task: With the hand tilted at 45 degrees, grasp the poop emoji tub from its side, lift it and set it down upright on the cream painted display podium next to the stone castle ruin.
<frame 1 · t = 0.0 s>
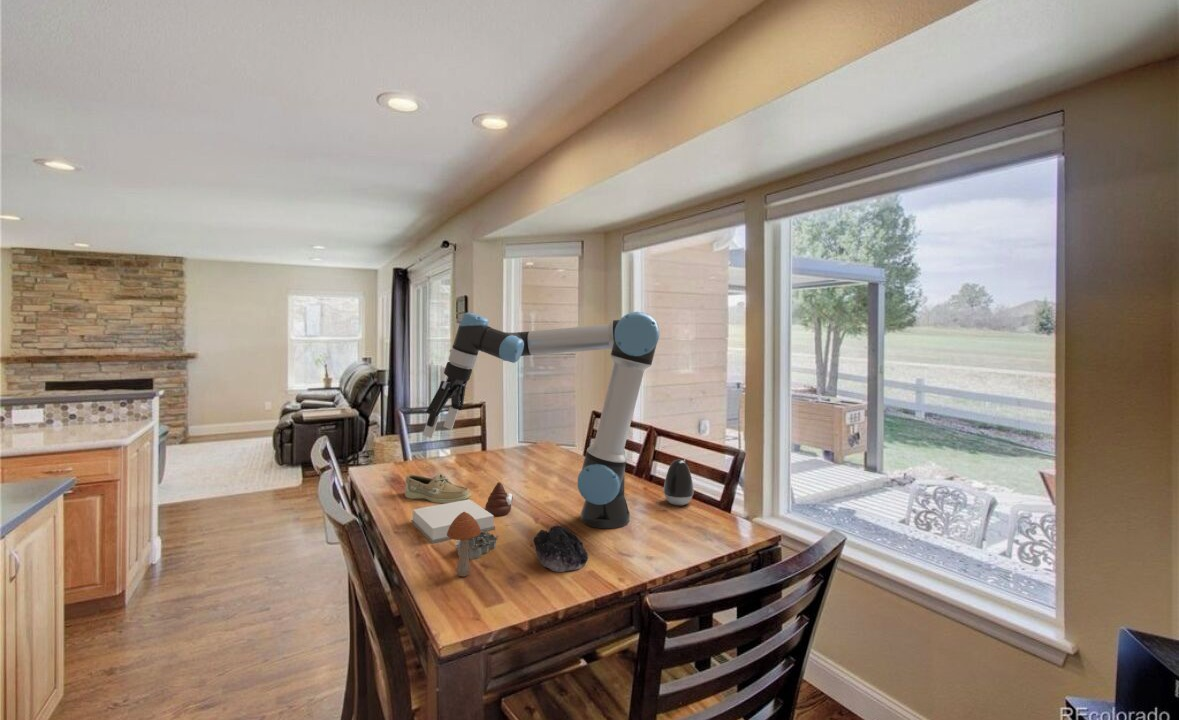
hand: (437, 432, 151), 28 cm above the table, tool tilted 20°, fingers open, 13 cm apart
stone castle ruin: (476, 551, 135), on the table
crystal cluster: (561, 562, 129), on the table
poop emoji: (498, 512, 165), on the table
mushroom: (464, 574, 121), on the table
podium: (452, 525, 152), on the table
black egg shaped device: (678, 503, 176), on the table
boat shoe: (437, 499, 177), on the table
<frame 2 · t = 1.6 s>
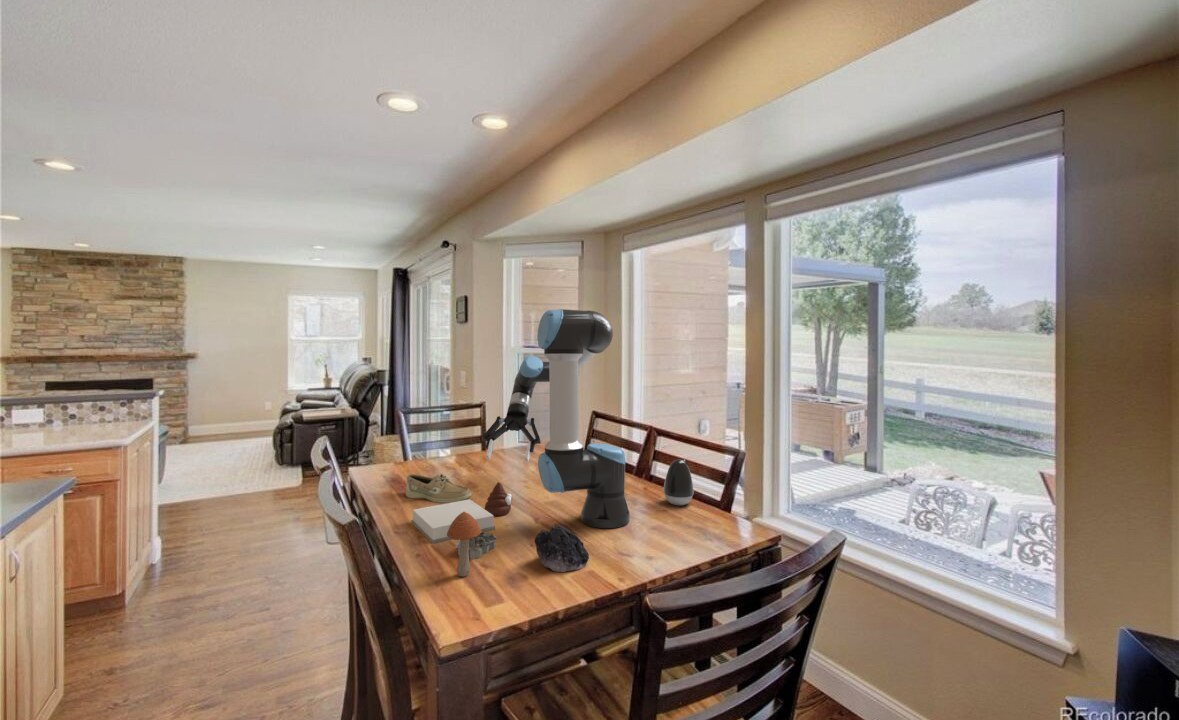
hand: (507, 458, 174), 15 cm above the table, tool tilted 45°, fingers open, 13 cm apart
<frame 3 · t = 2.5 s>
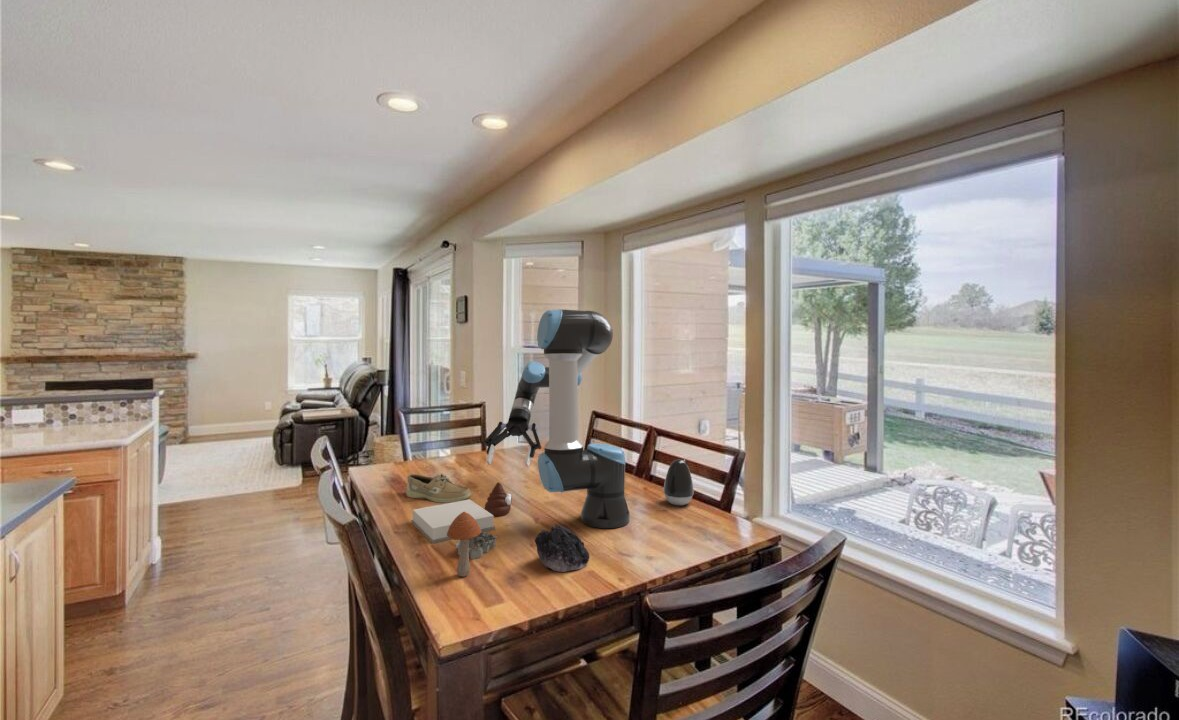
hand: (507, 464, 173), 13 cm above the table, tool tilted 45°, fingers open, 13 cm apart
nothing on the table moved.
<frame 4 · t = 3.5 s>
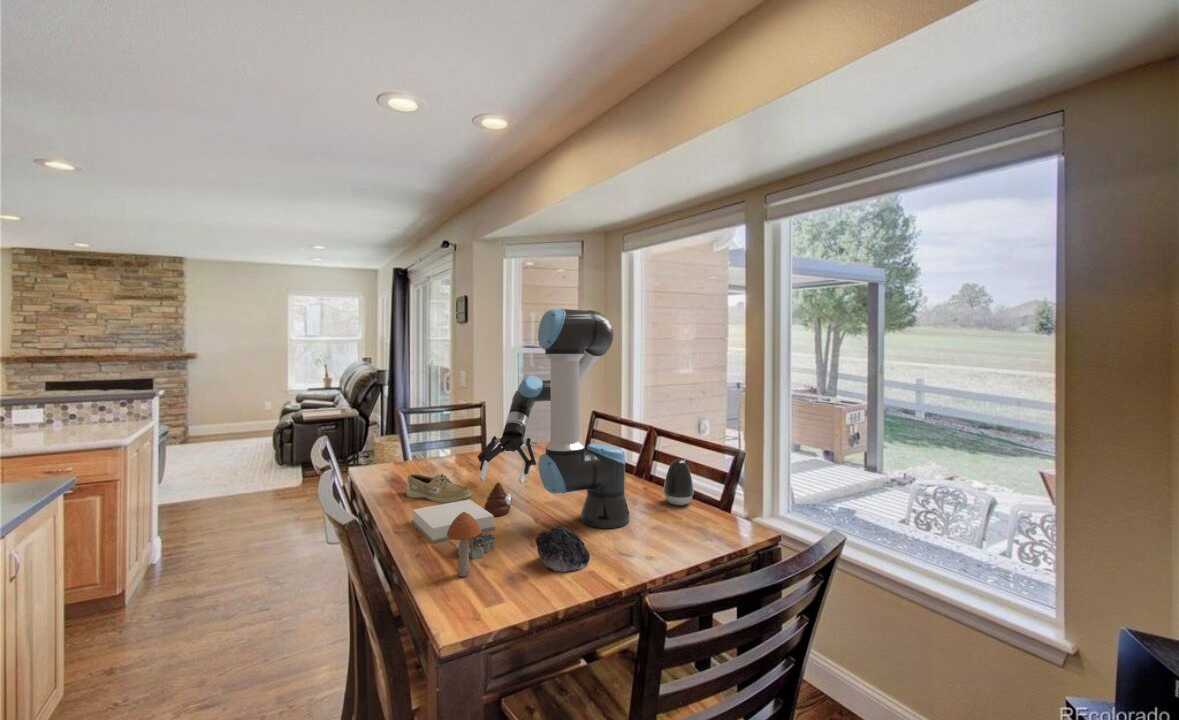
hand: (501, 480, 169), 9 cm above the table, tool tilted 45°, fingers open, 13 cm apart
nothing on the table moved.
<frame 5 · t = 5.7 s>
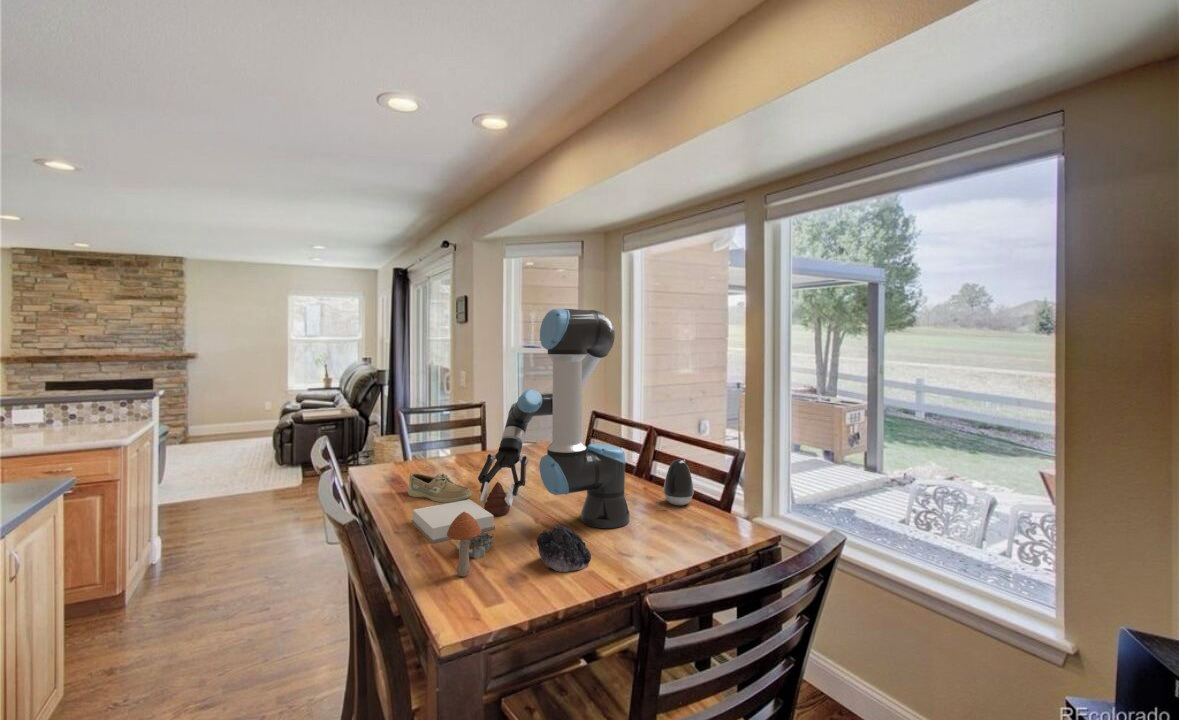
hand: (495, 503, 161), 4 cm above the table, tool tilted 45°, fingers closed on poop emoji, 8 cm apart
poop emoji: (497, 512, 165), on the table, touching gripper
when the fingers open (9 cm above the table, at t = 10.8 s): poop emoji stays where it is, resting on podium.
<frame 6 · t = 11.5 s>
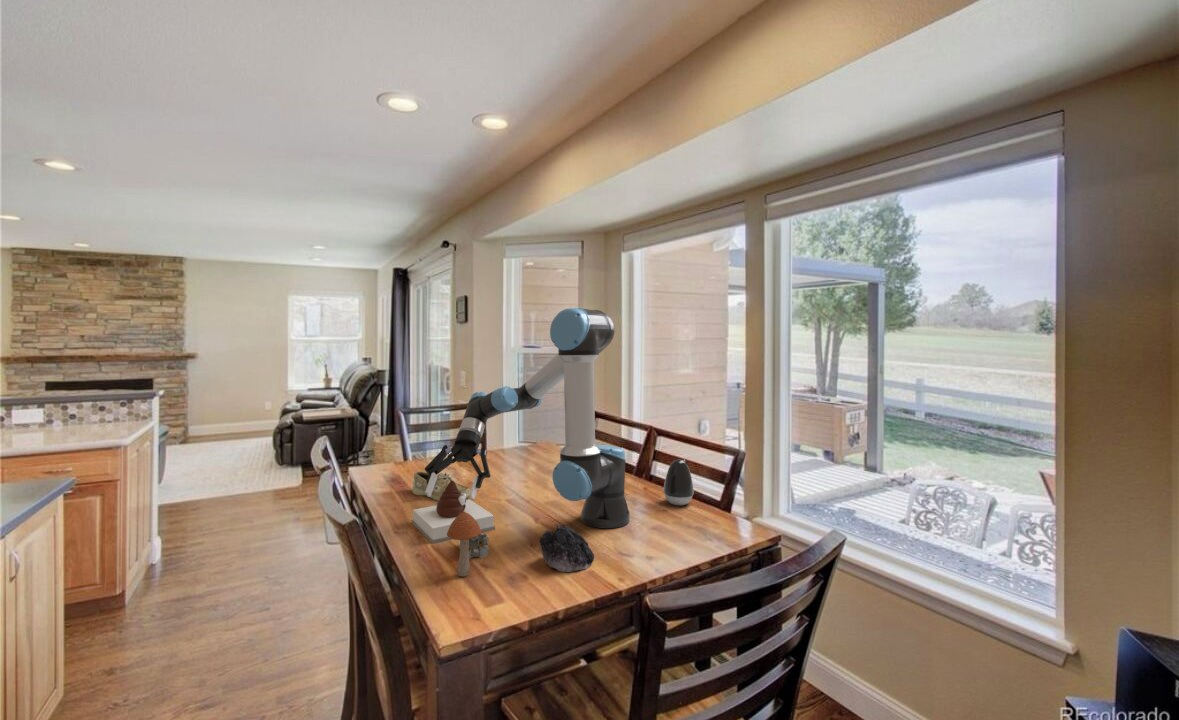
hand: (449, 496, 149), 10 cm above the table, tool tilted 45°, fingers open, 13 cm apart
poop emoji: (451, 513, 152), point 4 cm above the table, touching podium
boat shoe: (440, 497, 180), on the table
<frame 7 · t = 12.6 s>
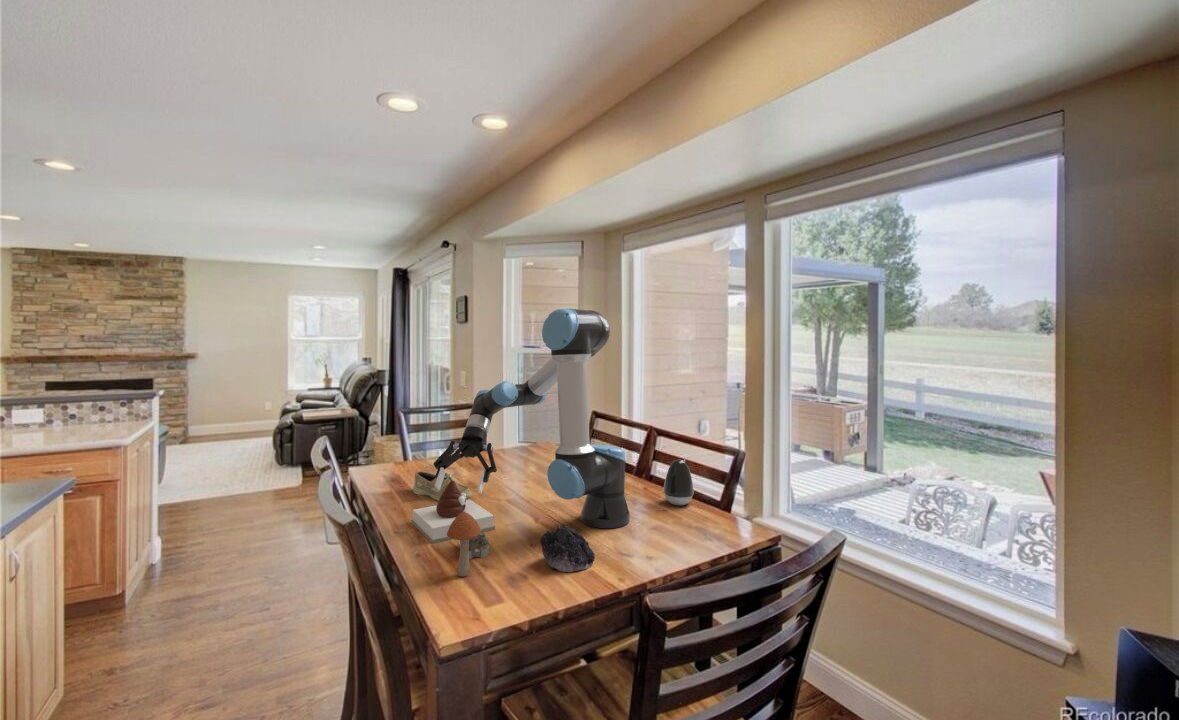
hand: (457, 489, 155), 10 cm above the table, tool tilted 45°, fingers open, 13 cm apart
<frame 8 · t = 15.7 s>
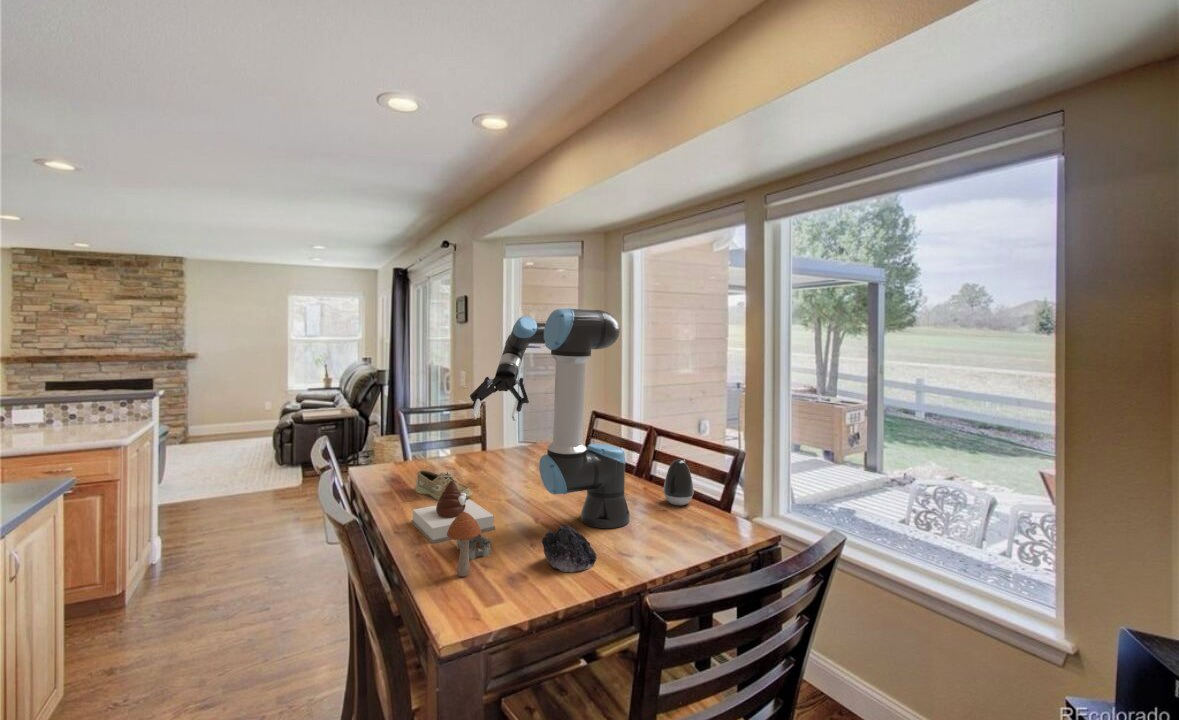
hand: (493, 417, 168), 30 cm above the table, tool tilted 45°, fingers open, 13 cm apart
at the end: poop emoji inside the target area on the podium (0.4 cm from its centre), point 3.8 cm above the podium's base; poop emoji tilted 0°; the gripper is holding nothing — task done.
